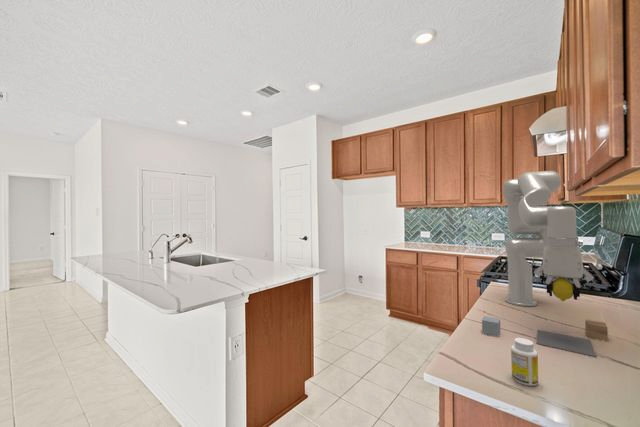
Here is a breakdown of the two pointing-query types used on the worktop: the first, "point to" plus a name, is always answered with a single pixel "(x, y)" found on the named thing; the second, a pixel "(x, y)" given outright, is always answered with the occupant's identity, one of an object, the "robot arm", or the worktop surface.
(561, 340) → the mat
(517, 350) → the supplement bottle
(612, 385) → the worktop surface
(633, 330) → the worktop surface
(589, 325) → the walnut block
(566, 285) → the lemon
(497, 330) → the slate block
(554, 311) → the worktop surface
